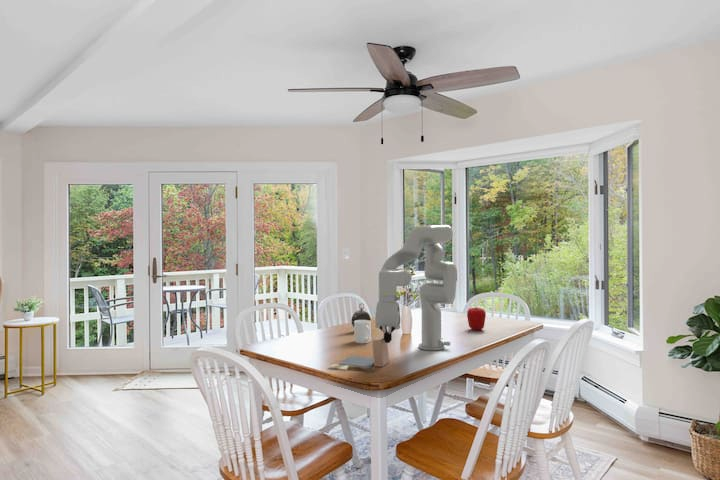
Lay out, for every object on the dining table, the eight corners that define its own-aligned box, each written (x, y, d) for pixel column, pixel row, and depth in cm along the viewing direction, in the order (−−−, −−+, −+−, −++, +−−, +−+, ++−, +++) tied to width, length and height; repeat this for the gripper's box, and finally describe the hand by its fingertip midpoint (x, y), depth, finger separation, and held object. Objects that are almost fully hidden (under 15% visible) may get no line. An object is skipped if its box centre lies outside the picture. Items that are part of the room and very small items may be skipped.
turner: (373, 369, 188) (373, 366, 188) (369, 372, 184) (369, 369, 184) (333, 365, 194) (333, 362, 194) (328, 368, 190) (328, 365, 190)
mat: (379, 359, 204) (379, 358, 204) (370, 367, 191) (370, 366, 191) (350, 356, 208) (350, 355, 208) (338, 364, 195) (338, 363, 195)
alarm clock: (367, 329, 268) (367, 302, 268) (372, 331, 263) (372, 303, 263) (351, 331, 262) (350, 303, 262) (355, 333, 258) (355, 304, 257)
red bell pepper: (463, 329, 268) (463, 306, 268) (477, 327, 273) (477, 304, 273) (475, 332, 259) (475, 308, 259) (489, 330, 263) (489, 307, 263)
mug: (361, 345, 229) (361, 324, 228) (351, 341, 239) (351, 320, 239) (376, 344, 232) (376, 323, 232) (366, 339, 243) (366, 319, 243)
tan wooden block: (389, 360, 200) (386, 335, 200) (383, 366, 191) (380, 340, 192) (380, 360, 201) (377, 335, 201) (374, 366, 193) (371, 340, 193)
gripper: (406, 298, 196) (406, 341, 196) (373, 297, 201) (373, 339, 201) (402, 301, 189) (402, 345, 189) (368, 299, 194) (368, 342, 194)
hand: (387, 342), depth 195 cm, fingers closed
